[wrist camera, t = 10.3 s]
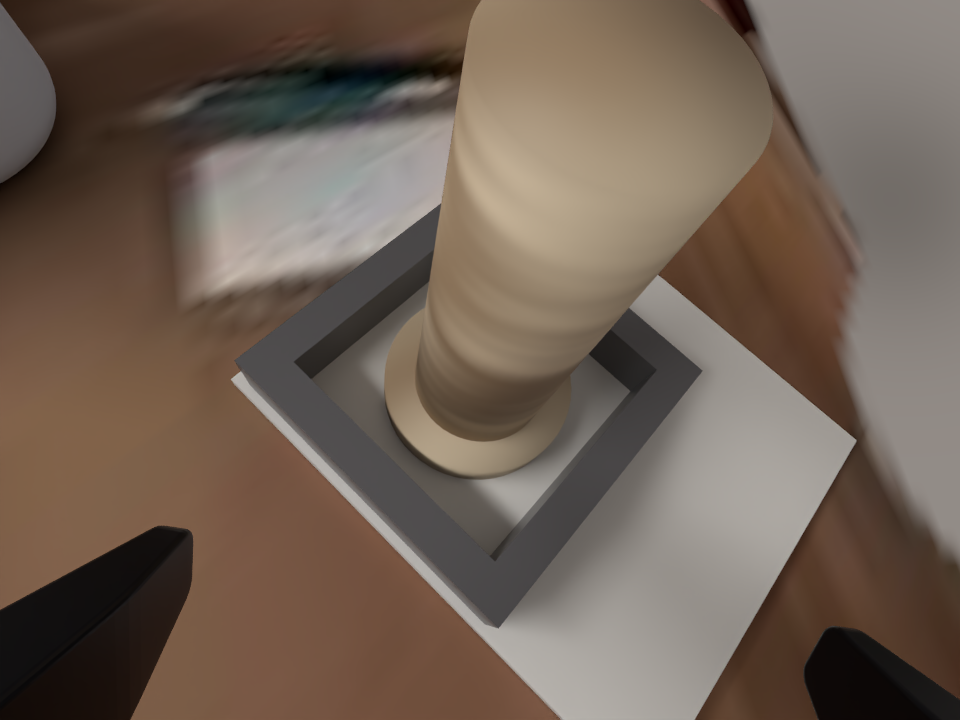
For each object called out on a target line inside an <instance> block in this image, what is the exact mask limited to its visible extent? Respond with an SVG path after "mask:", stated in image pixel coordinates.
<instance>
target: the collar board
mask: <svg viewBox="0 0 960 720" xmlns="http://www.w3.org/2000/svg"><path fill="white" fill-rule="evenodd" d="M440 209H441V204H440V205H438V206H437V207H436V208H434V209H433V210H432V211H431V212H429V213H428V214H427V215H425V216H424V217H423V218H421V219H420V220H419V221H417V222H416V223H415V224H413V225H412V226H411V227H409V228H408V229H407V230H405V231H404V232H403V233H402V234H400V235H399V236H398V237H396V238H395V239H394V240H392V241H391V242H390V243H388V244H387V245H386V246H384V247H383V248H382V249H380V250H379V251H378V252H377V253H375V254H374V255H373V256H371V257H370V258H369V259H367V260H366V261H365V262H363V263H362V264H361V265H359V266H358V267H357V268H355V269H354V270H353V271H351V272H350V273H349V274H348V275H346V276H345V277H344V278H342V279H341V280H340V281H338V282H337V283H336V284H334V285H333V286H332V287H330V288H329V289H328V290H326V291H325V292H324V293H323V294H321V295H320V296H319V297H317V298H316V299H315V300H313V301H312V302H311V303H309V304H308V305H307V306H305V307H304V308H303V309H301V310H300V311H299V312H297V313H296V314H295V315H294V316H292V317H291V318H290V319H288V320H287V321H286V322H284V323H283V324H282V325H280V326H279V327H278V328H276V329H275V330H274V331H272V332H271V333H270V334H269V335H267V336H266V337H265V338H263V339H262V340H261V341H259V342H258V343H257V344H255V345H254V346H253V347H251V348H250V349H249V350H247V351H246V352H245V353H243V354H242V355H241V356H240V357H238V358H237V359H236V360H234V361H235V362H236V364H237V365H238V367H239V369H240V370H241V372H239V373H238V374H237V375H236V376H234V377H233V378H232V379H231V380H232V382H233V383H234V385H235V386H236V387H237V388H238V389H239V390H240V391H241V392H242V393H243V394H244V395H245V396H246V397H247V398H248V399H249V400H250V401H251V402H252V403H253V404H254V405H255V406H256V407H257V408H258V409H259V410H260V411H261V412H262V413H263V414H264V415H265V417H266V418H267V419H268V420H269V421H270V422H271V423H272V424H273V425H274V426H275V427H276V428H277V429H278V430H279V431H280V432H281V433H282V434H283V435H284V436H285V437H286V438H287V439H288V440H289V441H290V442H291V443H292V444H293V445H294V446H295V447H296V448H297V449H298V450H299V451H300V452H301V453H302V454H303V455H304V456H305V457H306V459H307V460H308V461H309V462H310V463H311V464H312V465H313V466H314V467H315V468H316V469H317V470H318V471H319V472H320V473H321V474H322V475H323V476H324V477H325V478H326V479H327V480H328V481H329V482H330V483H331V484H332V485H333V486H334V487H335V488H336V489H337V490H338V491H339V492H340V493H341V494H342V495H343V496H344V497H345V498H346V500H347V501H348V502H349V503H350V504H351V505H352V506H353V507H354V508H355V509H356V510H357V511H358V512H359V513H360V514H361V515H362V516H363V517H364V518H365V519H366V520H367V521H368V522H369V523H370V524H371V525H372V526H373V527H374V528H375V529H376V530H377V531H378V532H379V533H380V534H381V535H382V536H383V537H384V538H385V539H386V541H387V542H388V543H389V544H390V545H391V546H392V547H393V548H394V549H395V550H396V551H397V552H398V553H399V554H400V555H401V556H402V557H403V558H404V559H405V560H406V561H407V562H408V563H409V564H410V565H411V566H412V567H413V568H414V569H415V570H416V571H417V572H418V573H419V574H420V575H421V576H422V577H423V578H424V579H425V580H426V581H427V583H428V584H429V585H430V586H431V587H432V588H433V589H434V590H435V591H436V592H437V593H438V594H439V595H440V596H441V597H442V598H443V599H444V600H445V601H446V602H447V603H448V604H449V605H450V606H451V607H452V608H453V609H454V610H455V611H456V612H457V613H458V614H459V615H460V616H461V617H462V618H463V619H464V620H465V621H466V622H467V624H468V625H469V626H470V627H471V628H472V629H473V630H474V631H475V632H476V633H477V634H478V635H479V636H480V637H481V638H482V639H483V640H484V641H485V642H486V643H487V644H488V645H489V646H490V647H491V648H492V649H493V650H494V651H495V652H496V653H497V654H498V655H499V656H500V657H501V658H502V659H503V660H504V661H505V662H506V663H507V665H508V666H509V667H510V668H511V669H512V670H513V671H514V672H515V673H516V674H517V675H518V676H519V677H520V678H521V679H522V680H523V681H524V682H525V683H526V684H527V685H528V686H529V687H530V688H531V689H532V690H533V691H534V692H535V693H536V694H537V695H538V696H539V697H540V698H541V699H542V700H543V701H544V702H545V703H546V704H547V706H548V707H549V708H550V709H551V710H552V711H553V712H554V713H555V714H556V715H557V716H558V717H559V718H560V719H561V720H695V718H696V716H697V715H698V713H699V711H700V710H701V708H702V706H703V704H704V703H705V701H706V699H707V698H708V696H709V694H710V692H711V691H712V689H713V687H714V685H715V684H716V682H717V680H718V679H719V677H720V675H721V673H722V672H723V670H724V668H725V667H726V665H727V663H728V661H729V660H730V658H731V656H732V655H733V653H734V651H735V649H736V648H737V646H738V644H739V642H740V641H741V639H742V637H743V636H744V634H745V632H746V630H747V629H748V627H749V625H750V624H751V622H752V620H753V618H754V617H755V615H756V613H757V612H758V610H759V608H760V606H761V605H762V603H763V601H764V599H765V598H766V596H767V594H768V593H769V591H770V589H771V587H772V586H773V584H774V582H775V581H776V579H777V577H778V575H779V574H780V572H781V570H782V568H783V567H784V565H785V563H786V562H787V560H788V558H789V556H790V555H791V553H792V551H793V550H794V548H795V546H796V544H797V543H798V541H799V539H800V538H801V536H802V534H803V532H804V531H805V529H806V527H807V525H808V524H809V522H810V520H811V519H812V517H813V515H814V513H815V512H816V510H817V508H818V507H819V505H820V503H821V501H822V500H823V498H824V496H825V495H826V493H827V491H828V489H829V488H830V486H831V484H832V482H833V481H834V479H835V477H836V476H837V474H838V472H839V470H840V469H841V467H842V465H843V464H844V462H845V460H846V458H847V457H848V455H849V453H850V451H851V450H852V448H853V446H854V445H855V443H856V441H857V440H855V439H854V438H853V437H852V436H851V435H849V434H848V433H847V432H846V431H845V430H843V429H842V428H841V427H840V426H839V425H838V424H836V423H835V422H834V421H833V420H832V419H830V418H829V417H828V416H827V415H826V414H824V413H823V412H822V411H821V410H820V409H818V408H817V407H816V406H815V405H814V404H812V403H811V402H810V401H809V400H808V399H806V398H805V397H804V396H803V395H802V394H800V393H799V392H798V391H797V390H796V389H794V388H793V387H792V386H791V385H790V384H788V383H787V382H786V381H785V380H784V379H782V378H781V377H780V376H779V375H778V374H776V373H775V372H774V371H773V370H772V369H770V368H769V367H768V366H767V365H766V364H764V363H763V362H762V361H761V360H760V359H758V358H757V357H756V356H755V355H754V354H752V353H751V352H750V351H749V350H748V349H746V348H745V347H744V346H743V345H742V344H740V343H739V342H738V341H737V340H736V339H734V338H733V337H732V336H731V335H730V334H728V333H727V332H726V331H725V330H724V329H722V328H721V327H720V326H719V325H718V324H716V323H715V322H714V321H713V320H712V319H710V318H709V317H708V316H707V315H706V314H704V313H703V312H702V311H701V310H700V309H698V308H697V307H696V306H695V305H694V304H692V303H691V302H690V301H689V300H688V299H686V298H685V297H684V296H683V295H682V294H680V293H679V292H678V291H677V290H676V289H674V288H673V287H672V286H671V285H670V284H668V283H667V282H666V281H665V280H664V279H662V278H661V277H660V276H659V275H657V276H656V277H655V278H654V280H653V281H652V282H651V283H650V284H649V285H648V286H647V288H646V289H645V290H644V291H643V292H642V293H641V294H640V296H639V297H638V298H637V299H636V300H635V301H634V302H633V304H632V305H631V306H630V307H629V308H628V309H627V310H626V312H625V313H624V314H623V315H622V316H621V317H620V318H619V320H618V321H617V322H616V323H615V324H614V325H613V326H612V328H611V329H610V330H609V331H608V332H607V333H606V334H605V336H604V337H603V338H602V339H601V340H600V341H599V343H598V344H597V345H596V346H595V347H594V348H593V349H592V351H591V352H590V353H589V354H588V355H587V356H586V357H585V359H584V360H583V361H582V362H581V363H580V364H579V365H578V367H577V368H576V369H575V370H574V371H573V372H572V373H571V375H570V377H571V401H570V406H569V411H568V414H567V417H566V419H565V422H564V424H563V426H562V428H561V430H560V432H559V433H558V435H557V436H556V437H555V439H554V440H553V442H552V443H551V444H550V445H549V446H548V447H547V448H546V449H545V450H544V451H543V452H542V453H540V454H539V455H538V456H537V457H536V458H535V459H533V460H532V461H531V462H529V463H528V464H527V465H526V466H524V467H522V468H520V469H519V470H517V471H515V472H512V473H510V474H507V475H505V476H501V477H497V478H492V479H483V480H473V479H463V478H457V477H453V476H450V475H447V474H444V473H441V472H439V471H437V470H435V469H433V468H431V467H429V466H428V465H426V464H425V463H423V462H422V461H420V460H419V459H418V458H417V457H415V456H414V455H413V454H412V453H411V452H410V451H409V450H408V449H407V448H406V447H405V446H404V444H403V443H402V441H401V440H400V439H399V437H398V436H397V434H396V432H395V430H394V429H393V427H392V425H391V422H390V419H389V417H388V414H387V409H386V405H385V396H384V376H385V365H386V360H387V356H388V353H389V350H390V348H391V345H392V343H393V341H394V339H395V337H396V335H397V334H398V333H399V331H400V330H401V328H402V327H403V326H404V325H405V324H406V323H407V322H408V321H409V320H410V319H411V317H413V316H414V315H415V314H417V313H418V312H419V311H420V310H422V309H424V308H425V305H426V299H427V292H428V286H429V280H430V273H431V267H432V260H433V254H434V248H435V241H436V235H437V228H438V222H439V216H440Z"/></svg>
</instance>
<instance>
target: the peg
mask: <svg viewBox="0 0 960 720" xmlns="http://www.w3.org/2000/svg"><path fill="white" fill-rule="evenodd" d="M772 125H773V104H772V96H771V92H770V89H769V85H768V82H767V79H766V77H765V75H764V72H763V70H762V68H761V66H760V64H759V62H758V61H757V59H756V57H755V56H754V54H753V52H752V51H751V50H750V48H749V47H748V46H747V44H746V43H745V41H744V40H743V39H742V38H741V37H740V36H739V34H738V33H737V32H736V31H735V30H734V29H733V28H732V27H731V26H730V25H729V24H728V23H727V22H726V21H725V20H724V19H723V18H721V17H720V16H719V15H718V14H717V13H716V12H714V11H713V10H712V9H710V8H709V7H708V6H706V5H705V4H704V3H702V2H701V1H699V0H481V2H480V3H479V5H478V6H477V8H476V10H475V12H474V14H473V17H472V19H471V22H470V26H469V31H468V36H467V43H466V49H465V56H464V62H463V68H462V75H461V81H460V88H459V94H458V100H457V107H456V113H455V120H454V126H453V132H452V139H451V145H450V152H449V158H448V164H447V171H446V177H445V184H444V190H443V196H442V203H441V209H440V216H439V222H438V228H437V235H436V241H435V248H434V254H433V260H432V267H431V273H430V280H429V286H428V292H427V299H426V305H425V308H424V309H422V310H420V311H419V312H418V313H417V314H415V315H414V316H413V317H411V319H410V320H409V321H408V322H407V323H406V324H405V325H404V326H403V327H402V328H401V330H400V331H399V333H398V334H397V335H396V337H395V339H394V341H393V343H392V345H391V348H390V350H389V353H388V356H387V360H386V365H385V376H384V396H385V405H386V409H387V414H388V417H389V419H390V422H391V425H392V427H393V429H394V430H395V432H396V434H397V436H398V437H399V439H400V440H401V441H402V443H403V444H404V446H405V447H406V448H407V449H408V450H409V451H410V452H411V453H412V454H413V455H414V456H415V457H417V458H418V459H419V460H420V461H422V462H423V463H425V464H426V465H428V466H429V467H431V468H433V469H435V470H437V471H439V472H441V473H444V474H447V475H450V476H453V477H457V478H463V479H473V480H483V479H492V478H497V477H501V476H505V475H507V474H510V473H512V472H515V471H517V470H519V469H520V468H522V467H524V466H526V465H527V464H528V463H529V462H531V461H532V460H533V459H535V458H536V457H537V456H538V455H539V454H540V453H542V452H543V451H544V450H545V449H546V448H547V447H548V446H549V445H550V444H551V443H552V442H553V440H554V439H555V437H556V436H557V435H558V433H559V432H560V430H561V428H562V426H563V424H564V422H565V419H566V417H567V414H568V411H569V406H570V401H571V377H570V375H571V373H572V372H573V371H574V370H575V369H576V368H577V367H578V365H579V364H580V363H581V362H582V361H583V360H584V359H585V357H586V356H587V355H588V354H589V353H590V352H591V351H592V349H593V348H594V347H595V346H596V345H597V344H598V343H599V341H600V340H601V339H602V338H603V337H604V336H605V334H606V333H607V332H608V331H609V330H610V329H611V328H612V326H613V325H614V324H615V323H616V322H617V321H618V320H619V318H620V317H621V316H622V315H623V314H624V313H625V312H626V310H627V309H628V308H629V307H630V306H631V305H632V304H633V302H634V301H635V300H636V299H637V298H638V297H639V296H640V294H641V293H642V292H643V291H644V290H645V289H646V288H647V286H648V285H649V284H650V283H651V282H652V281H653V280H654V278H655V277H656V276H657V275H658V274H659V273H660V272H661V270H662V269H663V268H664V267H665V266H666V265H667V264H668V262H669V261H670V260H671V259H672V258H673V257H674V255H675V254H676V253H677V252H678V251H679V250H680V249H681V247H682V246H683V245H684V244H685V243H686V242H687V241H688V239H689V238H690V237H691V236H692V235H693V234H694V233H695V231H696V230H697V229H698V228H699V227H700V226H701V225H702V223H703V222H704V221H705V220H706V219H707V218H708V217H709V215H710V214H711V213H712V212H713V211H714V210H715V209H716V207H717V206H718V205H719V204H720V203H721V202H722V201H723V199H724V198H725V197H726V196H727V195H728V194H729V193H730V191H731V190H732V189H733V188H734V187H735V186H736V185H737V183H738V182H739V181H740V180H741V179H742V178H743V177H744V175H745V174H746V173H747V172H748V171H749V170H750V168H751V167H752V166H753V165H754V164H755V163H756V161H757V160H758V158H759V157H760V156H761V154H762V153H763V151H764V149H765V147H766V145H767V143H768V141H769V138H770V134H771V130H772Z"/></svg>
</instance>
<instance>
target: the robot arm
mask: <svg viewBox="0 0 960 720" xmlns="http://www.w3.org/2000/svg"><path fill="white" fill-rule="evenodd" d="M192 563H193V535H192V533H191V532H190V531H189V530H188V529H183V528H176V527H170V526H157V527H154V528H152V529H150V530H148V531H146V532H144V533H143V534H141V535H139V536H137V537H135V538H133V539H131V540H129V541H128V542H126V543H124V544H122V545H120V546H118V547H116V548H115V549H113V550H111V551H109V552H107V553H105V554H103V555H102V556H100V557H98V558H96V559H94V560H92V561H90V562H89V563H87V564H85V565H83V566H81V567H79V568H77V569H75V570H74V571H72V572H70V573H68V574H66V575H64V576H62V577H61V578H59V579H57V580H55V581H53V582H51V583H49V584H48V585H46V586H44V587H42V588H40V589H38V590H36V591H35V592H33V593H31V594H29V595H27V596H25V597H23V598H22V599H20V600H18V601H16V602H14V603H12V604H10V605H8V606H7V607H5V608H3V609H1V610H0V720H130V719H131V717H132V715H133V713H134V711H135V709H136V707H137V705H138V703H139V701H140V699H141V696H142V694H143V692H144V690H145V688H146V686H147V683H148V681H149V679H150V677H151V675H152V673H153V670H154V668H155V666H156V664H157V662H158V659H159V657H160V655H161V653H162V651H163V649H164V646H165V644H166V642H167V640H168V638H169V636H170V633H171V631H172V629H173V627H174V625H175V623H176V620H177V618H178V616H179V614H180V612H181V610H182V607H183V605H184V603H185V601H186V599H187V596H188V593H189V590H190V587H191V582H192ZM804 682H805V685H806V688H807V691H808V694H809V696H810V699H811V702H812V704H813V707H814V710H815V713H816V715H817V718H818V720H960V700H959V699H958V698H956V697H955V696H953V695H952V694H951V693H949V692H948V691H946V690H945V689H943V688H942V687H941V686H939V685H938V684H936V683H935V682H933V681H932V680H931V679H929V678H928V677H926V676H925V675H924V674H922V673H921V672H919V671H918V670H916V669H915V668H914V667H912V666H911V665H909V664H908V663H906V662H905V661H904V660H902V659H901V658H899V657H898V656H896V655H895V654H894V653H892V652H891V651H889V650H888V649H887V648H885V647H884V646H882V645H881V644H879V643H878V642H877V641H875V640H874V639H872V638H871V637H869V636H868V635H867V634H865V633H863V632H862V631H859V630H857V629H853V628H846V627H839V626H830V627H828V628H827V629H825V630H824V632H823V633H822V635H821V637H820V638H819V640H818V642H817V644H816V645H815V647H814V649H813V651H812V653H811V654H810V656H809V658H808V660H807V661H806V663H805V666H804Z"/></svg>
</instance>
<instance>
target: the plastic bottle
mask: <svg viewBox="0 0 960 720" xmlns="http://www.w3.org/2000/svg"><path fill="white" fill-rule="evenodd" d="M55 116H56V94H55V88H54V85H53V82H52V79H51V76H50V73H49V71H48V69H47V67H46V66H45V64H44V62H43V60H42V59H41V58H40V56H39V55H38V53H37V52H36V51H35V49H34V48H33V47H32V45H31V44H30V42H29V41H28V40H27V38H26V37H25V36H24V34H23V33H22V32H21V30H20V29H19V28H18V26H17V25H16V23H15V22H14V21H13V19H12V18H11V17H10V15H9V14H8V13H7V11H6V10H5V8H4V7H3V6H2V4H1V3H0V183H2V182H4V181H5V180H7V179H9V178H10V177H12V176H13V175H15V174H16V173H18V172H19V171H20V170H21V169H23V168H24V167H25V166H26V165H27V164H28V163H30V162H31V161H32V160H33V159H34V157H35V156H36V155H37V154H38V153H39V152H40V150H41V149H42V147H43V146H44V144H45V143H46V141H47V139H48V137H49V135H50V132H51V130H52V128H53V125H54V121H55Z"/></svg>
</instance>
